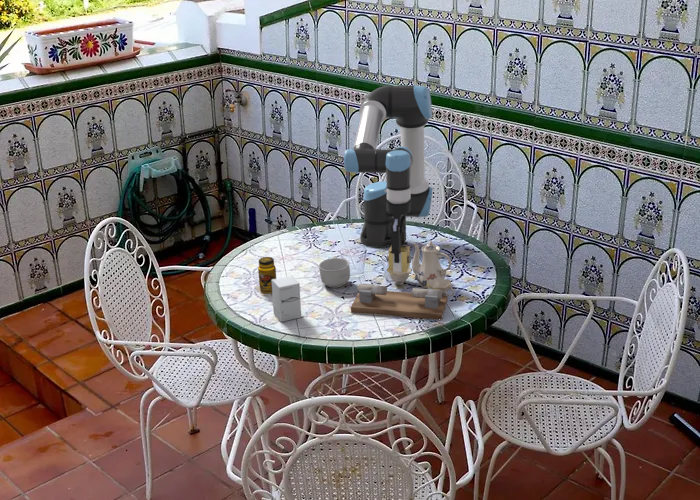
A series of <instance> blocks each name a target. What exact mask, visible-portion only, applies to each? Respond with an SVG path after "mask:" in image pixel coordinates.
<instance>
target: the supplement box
mask: <svg viewBox="0 0 700 500" xmlns="http://www.w3.org/2000/svg"><path fill="white" fill-rule="evenodd" d="M271 281H272V294H271V295H272V307H273V314H274V315H275V316H276V318H277V319H278V320H279V322H280V323H282V322H286V321H290V320H294V319H300V318H302V307H301V289H300V288H301V287H300V282H299V281H298V280H297V279H296V278H295V277H294V276H293V275H288V276H283V277H278V278H277V277H276V279H272V280H271Z"/></svg>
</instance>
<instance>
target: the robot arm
mask: <svg viewBox="0 0 700 500" xmlns="http://www.w3.org/2000/svg"><path fill="white" fill-rule="evenodd" d="M432 107H433V106H432V97H431V93H430V89H429V88H428V87H427V86H424V85H417V84H415V85H384V86H380V87H378V88H375V89H374V90H372V91H371V92H370V93H369V94H367V95H366V96H365V98H364V99H362V102H361V104H360V106H359V110H358V111H359V112H358V115H359V117H360V118H359V124H358V127H357V130H356V135H355V140H354V143H353V148H349V149H348V148H347V149H346V150H345V151H344V154H343V168H344V170H345V171H346V172H348V173H356V174H358V173H362V174H363V173H369V174H370V173H373V174H374V173H378V174H379V173H380V174H382V173H383V174H386V175H385V176H386V178H385V179H386V180H384V181H383V180H382V181H376V182H373V183H370V184H368V185H367V186H366V187H365V188H364V189H363V197H362V199H363V215H364V216H363V217H364V219H363V220H364V222H363V225H362V229H361V233H360V239H359V240H360V242H361V244H362V245H364V246H368V247H371V248H385V247H391V248H392V251H390V253H392V254H393V271H398V272H401V271H402V252H401V246H408V242H407V218H410V217H411V218H413V217H414V218H422V217H423V218H426V217H428V216H429V215H430V212H431V206H432V198H433V192H434V191H433V187H431V186H430V184H429V182H428V181H427V180H426V179H425V177H426V176H425V175H426V174H425V169H426V167H425V126H426V125H428V122H429V120H431V118H432V115H433V108H432ZM386 119H391V120H392V119H395V123H396V125H397V126H398V127H399V129H400V146H398V147H395V148H394V149H377V147H378V143H379V137H380V132H381V127H382V123H383V122H384V120H386Z"/></svg>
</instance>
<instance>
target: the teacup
mask: <svg viewBox="0 0 700 500" xmlns="http://www.w3.org/2000/svg"><path fill="white" fill-rule="evenodd" d="M318 269H319V276H320V280H321V283H323V284H324V285H325V286H327V287H329V288H340V287H343V286H345V285H346V284H347V283H348V282H349V280H350V277H351V271H350V261H349V260H347V259H345V258H341V257H338V256H335V255H334V256H332V258H327V259H325V260H323V261H321V262H319V264H318Z"/></svg>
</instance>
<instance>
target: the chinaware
mask: <svg viewBox="0 0 700 500" xmlns="http://www.w3.org/2000/svg"><path fill="white" fill-rule="evenodd" d="M413 246H414V249H415V250H414V254H413V258H412V259H411V268H410V267H409V269H408V271H407V272H398V271H389V267H388V268H387V269H386V271H387V272H388V274H389V277H390V280H392V281H393V282H395V284H396V285H404V284H405V282H406V281H407V280H408V279H409V277H410V273H411V272H413V273H414V275H415V277H414V278H415V280H416V281H417V282H418V285H419V286H420V287H421V288H423V289H440V290H442V295H446V296H448V297H452V296H454V295H455V293H454V292H455V291H454V289H453V287H452V281H451V279H448V278H446V277H447V273H448V271H449V270H450V269H451V267H452V260H451V258H450V256H449V255H448V254H446V253H444V252H440V250H441V248H440V246H439V245H436V244H434V243H433V241H432V240H429V242H428V243H427V244H426V245H423V246H421V250H420V247H419V245H418V243H417V244H416V243H413ZM420 251H421V252H422V260H421V263H420ZM443 256H444V257H445V258H446V259H447V260H448V267H447V268H445V269H443V267H442V265H441V263H440V259H441V258H442V257H443ZM449 290H452V294H448V292H449Z"/></svg>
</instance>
